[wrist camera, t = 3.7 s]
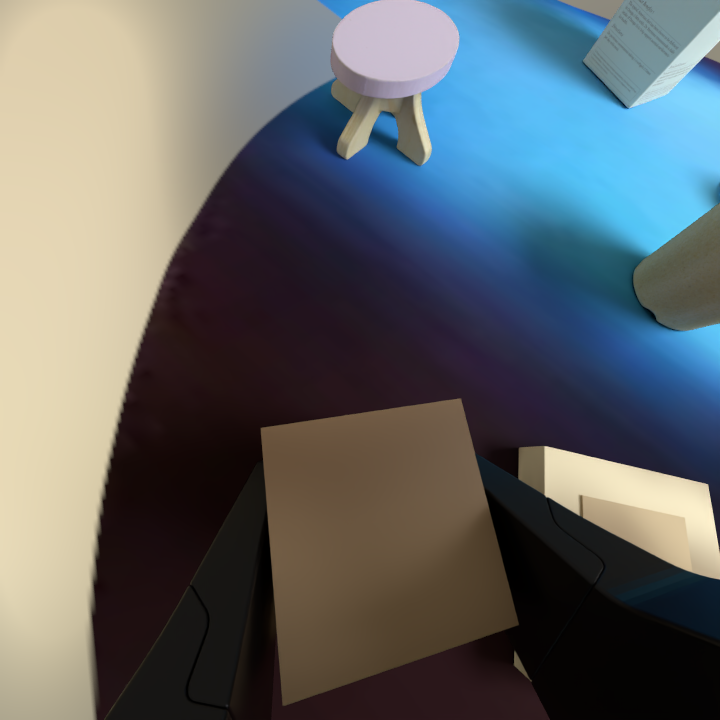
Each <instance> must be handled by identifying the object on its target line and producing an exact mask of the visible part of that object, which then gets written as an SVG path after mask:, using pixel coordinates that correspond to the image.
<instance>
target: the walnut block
mask: <svg viewBox="0 0 720 720" xmlns="http://www.w3.org/2000/svg"><path fill="white" fill-rule="evenodd" d="M261 438H262V450H263V463H264V476H265V488H266V501H267V513H268V526H269V538H270V551H271V563H272V576H273V588H274V601H275V613H276V626H277V638H278V651H279V664H280V676H281V689H282V701H283V706H285V705H288V704H291V703H293V702H296V701H299V700H302V699H305V698H308V697H311V696H314V695H317V694H320V693H322V692H325V691H328V690H331V689H334V688H337V687H340V686H343V685H346V684H349V683H352V682H354V681H357V680H360V679H363V678H366V677H369V676H372V675H375V674H378V673H381V672H383V671H386V670H389V669H392V668H395V667H398V666H401V665H404V664H407V663H410V662H412V661H415V660H418V659H421V658H424V657H427V656H430V655H433V654H436V653H439V652H442V651H444V650H447V649H450V648H453V647H456V646H459V645H462V644H465V643H468V642H471V641H473V640H476V639H479V638H482V637H485V636H488V635H491V634H494V633H497V632H500V631H503V630H505V629H508V628H511V627H514V626H517V625H519V623H518V619H517V615H516V611H515V607H514V603H513V599H512V595H511V592H510V588H509V584H508V580H507V576H506V572H505V568H504V564H503V561H502V557H501V553H500V549H499V545H498V541H497V537H496V533H495V530H494V526H493V522H492V518H491V514H490V510H489V506H488V502H487V499H486V495H485V491H484V487H483V483H482V479H481V475H480V471H479V468H478V464H477V460H476V456H475V452H474V448H473V444H472V440H471V436H470V433H469V429H468V425H467V421H466V417H465V413H464V409H463V405H462V402H461V399H454V400H447V401H440V402H433V403H427V404H420V405H413V406H406V407H400V408H393V409H386V410H379V411H372V412H366V413H359V414H352V415H345V416H339V417H332V418H325V419H318V420H311V421H305V422H298V423H291V424H284V425H278V426H271V427H264V428H261Z"/></svg>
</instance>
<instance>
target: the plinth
mask: <svg viewBox="0 0 720 720" xmlns="http://www.w3.org/2000/svg"><path fill="white" fill-rule="evenodd" d="M518 479H519V480H521V481H522V482H524V483H526V484H527V485H529V486H531V487H532V488H534V489H536V490H537V491H539V492H541V493H542V494H544V495H545V496H546V497H549V498H551V499H552V500H554V501H556V502H557V503H559V504H561V505H562V506H564V507H566V508H567V509H569V510H571V511H573V512H574V513H576V514H578V515H579V516H581V517H583V518H585V519H587V520H588V521H590V522H592V523H594V524H596V525H598V526H600V527H601V528H603V529H605V530H607V531H609V532H611V533H613V534H615V535H617V536H619V537H620V538H622V539H624V540H626V541H628V542H630V543H632V544H634V545H636V546H638V547H640V548H642V549H643V550H645V551H647V552H649V553H651V554H653V555H655V556H657V557H659V558H661V559H663V560H665V561H667V562H669V563H671V564H673V565H675V566H677V567H680V568H682V569H684V570H687V571H690V572H693V573H695V574H699V575H702V576H706V577H710V578H715V579H720V553H719V547H718V541H717V535H716V529H715V523H714V517H713V511H712V505H711V499H710V494H709V488H708V484H704V483H700V482H695V481H691V480H687V479H683V478H678V477H674V476H670V475H666V474H661V473H657V472H653V471H649V470H644V469H640V468H636V467H632V466H627V465H623V464H619V463H615V462H610V461H606V460H602V459H598V458H593V457H589V456H585V455H581V454H576V453H572V452H568V451H564V450H559V449H555V448H551V447H547V446H537V447H522V448H519V470H518ZM514 666H515V667H516V668H517V669H518V670H519V671H521V672H522V673H523V674H524V675H525V676H526V677H527V678H528V679H529V677H528V675H527V673H526V671H525V669H524V667H523V665H522V663H521V661H520V659H519V657H518V655H517V654H516V652H515V650H514ZM529 680H530V679H529ZM530 681H532V680H530Z"/></svg>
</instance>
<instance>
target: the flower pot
mask: <svg viewBox="0 0 720 720" xmlns="http://www.w3.org/2000/svg"><path fill="white" fill-rule="evenodd" d="M633 284H634V289H635V292H636V295H637V297H638V300H639V301H640V303H641V305H642V306H643V307H645V308H647V309H649V310H651V311H652V312H653V313H654V314H655V316H656V320H657V321H658V322H659V323H661V324H663V325H665V326H667V327H669V328H672V329H675V330H680V331H688V330H693V329H697V328H701V327H706V326H710V325H714V324H719V323H720V203H719V204H717V205H716V206H715V207H714V208H712V209H711V210H710V211H708V212H707V213H706V214H704V215H703V216H702V217H700V218H699V219H698V220H696V221H695V222H694V223H692V224H691V225H690V226H688V227H687V228H686V229H684V230H683V231H682V232H680V233H679V234H678V235H676V236H675V237H674V238H672V239H671V240H670V241H668V242H667V243H666V244H664V245H663V246H662V247H660V248H659V249H658V250H656V251H655V252H653V253H652V254H651V255H649V256H648V257H646V258H645V259H643V260H642V261H641V263H640V264H639V265H638V266H637V267H636V269H635V271H634V275H633Z"/></svg>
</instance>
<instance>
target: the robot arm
mask: <svg viewBox="0 0 720 720" xmlns="http://www.w3.org/2000/svg"><path fill="white" fill-rule="evenodd" d="M475 456H476V460H477V464H478V468H479V471H480V475H481V479H482V483H483V487H484V491H485V495H486V499H487V502H488V506H489V510H490V514H491V518H492V522H493V526H494V530H495V533H496V537H497V541H498V545H499V549H500V553H501V557H502V561H503V564H504V568H505V572H506V576H507V580H508V584H509V588H510V592H511V595H512V599H513V603H514V607H515V611H516V615H517V619H518V623H519V625H517V626H514V627H511V628H508V629H505V632H506V634H507V636H508V638H509V640H510V642H511V644H512V646H513V648H514V650H515V652H516V654H517V655H518V657H519V659H520V661H521V663H522V665H523V667H524V669H525V671H526V673H527V675H528V677H529V679H530V680H532V681H531V683H532V685H533V687H534V689H535V691H536V693H537V695H538V697H539V699H540V701H541V703H542V705H543V707H544V709H545V711H546V712H547V714H548V716H549V718H550V720H720V579H715V578H710V577H706V576H702V575H699V574H695V573H693V572H690V571H687V570H684V569H682V568H680V567H677V566H675V565H673V564H671V563H669V562H667V561H665V560H663V559H661V558H659V557H657V556H655V555H653V554H651V553H649V552H647V551H645V550H643V549H642V548H640V547H638V546H636V545H634V544H632V543H630V542H628V541H626V540H624V539H622V538H620V537H619V536H617V535H615V534H613V533H611V532H609V531H607V530H605V529H603V528H601V527H600V526H598V525H596V524H594V523H592V522H590V521H588V520H587V519H585V518H583V517H581V516H579V515H578V514H576V513H574V512H573V511H571V510H569V509H567V508H566V507H564V506H562V505H561V504H559V503H557V502H556V501H554V500H552V499H551V498H549V497H546V496H545V495H544V494H542V493H541V492H539V491H537V490H536V489H534V488H532V487H531V486H529V485H527V484H526V483H524V482H522V481H521V480H519V479H517V478H516V477H514V476H512V475H511V474H509V473H507V472H506V471H504V470H503V469H501V468H499V467H498V466H496V465H494V464H493V463H491V462H489V461H488V460H486V459H484V458H483V457H481V456H479V455H478V454H476V453H475ZM275 639H276V613H275V601H274V588H273V576H272V563H271V551H270V538H269V526H268V513H267V501H266V488H265V476H264V463H263V461H259V462H257V464H256V465H255V467H254V469H253V471H252V473H251V474H250V476H249V478H248V480H247V482H246V483H245V485H244V487H243V489H242V491H241V492H240V494H239V496H238V498H237V500H236V501H235V503H234V505H233V507H232V509H231V510H230V512H229V514H228V516H227V518H226V519H225V521H224V523H223V525H222V527H221V528H220V530H219V532H218V534H217V536H216V537H215V539H214V541H213V543H212V545H211V546H210V548H209V550H208V552H207V553H206V555H205V557H204V559H203V561H202V562H201V564H200V566H199V568H198V570H197V571H196V573H195V575H194V577H193V579H192V580H191V585H190V586H188V587H187V589H186V591H185V593H184V595H183V596H182V598H181V600H180V602H179V604H178V605H177V607H176V609H175V610H174V612H173V614H172V616H171V617H170V619H169V621H168V622H167V624H166V626H165V627H164V629H163V631H162V633H161V634H160V636H159V637H158V639H157V640H156V642H155V644H154V645H153V647H152V648H151V650H150V651H149V653H148V654H147V656H146V657H145V659H144V661H143V662H142V664H141V665H140V667H139V668H138V670H137V671H136V673H135V674H134V676H133V677H132V679H131V680H130V682H129V683H128V685H127V686H126V688H125V689H124V691H123V692H122V694H121V695H120V697H119V698H118V700H117V701H116V703H115V704H114V706H113V707H112V709H111V710H110V712H109V713H108V715H107V716H106V718H105V719H104V720H271V712H272V694H273V676H274V657H275Z"/></svg>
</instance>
